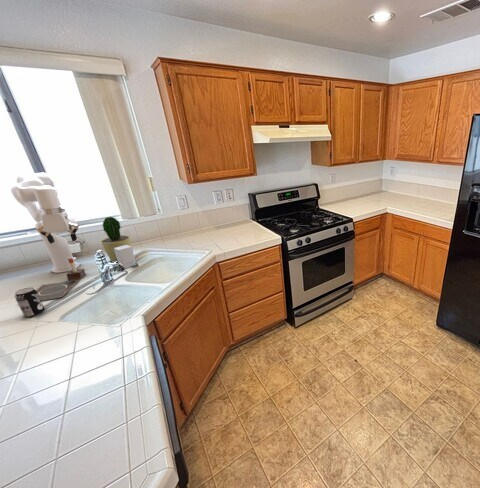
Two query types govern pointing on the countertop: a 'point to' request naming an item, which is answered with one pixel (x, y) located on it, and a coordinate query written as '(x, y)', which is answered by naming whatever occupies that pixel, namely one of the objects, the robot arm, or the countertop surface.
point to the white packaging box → (125, 256)
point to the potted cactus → (113, 237)
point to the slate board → (55, 290)
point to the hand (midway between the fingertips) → (63, 241)
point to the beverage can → (29, 302)
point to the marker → (72, 265)
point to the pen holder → (76, 274)
